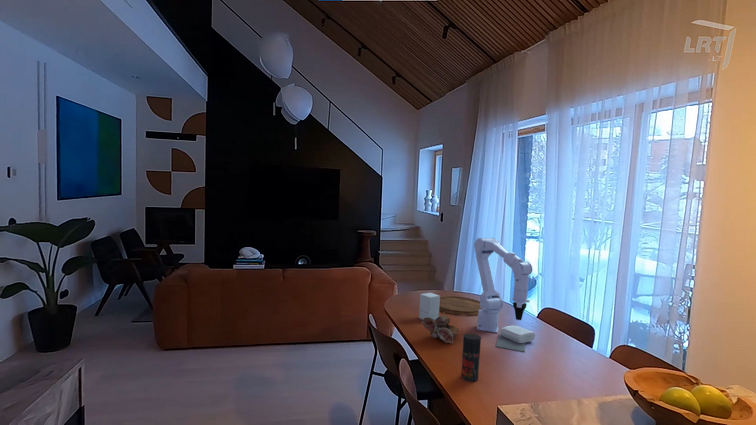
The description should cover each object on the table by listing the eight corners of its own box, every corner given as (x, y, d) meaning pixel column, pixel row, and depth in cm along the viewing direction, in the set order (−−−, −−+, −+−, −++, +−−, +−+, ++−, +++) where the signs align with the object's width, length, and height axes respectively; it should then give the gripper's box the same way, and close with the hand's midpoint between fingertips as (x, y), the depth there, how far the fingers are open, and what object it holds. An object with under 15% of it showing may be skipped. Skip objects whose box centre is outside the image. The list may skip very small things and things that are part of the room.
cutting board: (476, 321, 211) (477, 316, 211) (420, 308, 228) (421, 303, 228) (495, 307, 238) (495, 303, 238) (443, 296, 256) (444, 292, 255)
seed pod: (415, 318, 188) (428, 318, 174) (447, 309, 193) (461, 308, 179) (423, 347, 186) (436, 350, 172) (454, 337, 190) (470, 339, 176)
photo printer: (535, 341, 184) (513, 332, 195) (535, 331, 184) (513, 323, 195) (519, 344, 179) (497, 335, 190) (520, 335, 179) (498, 326, 189)
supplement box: (439, 320, 208) (440, 295, 207) (428, 322, 204) (429, 297, 203) (429, 316, 214) (430, 292, 213) (418, 318, 210) (419, 293, 209)
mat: (496, 347, 176) (496, 346, 176) (499, 334, 192) (499, 333, 192) (524, 352, 172) (524, 351, 172) (525, 338, 188) (525, 338, 188)
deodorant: (458, 374, 148) (461, 333, 147) (474, 374, 149) (477, 333, 148) (463, 381, 142) (466, 339, 141) (480, 382, 143) (483, 339, 142)
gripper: (530, 294, 173) (527, 325, 174) (530, 287, 186) (528, 316, 187) (512, 291, 175) (510, 323, 176) (514, 284, 189) (512, 314, 190)
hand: (518, 319), depth 182 cm, fingers closed
